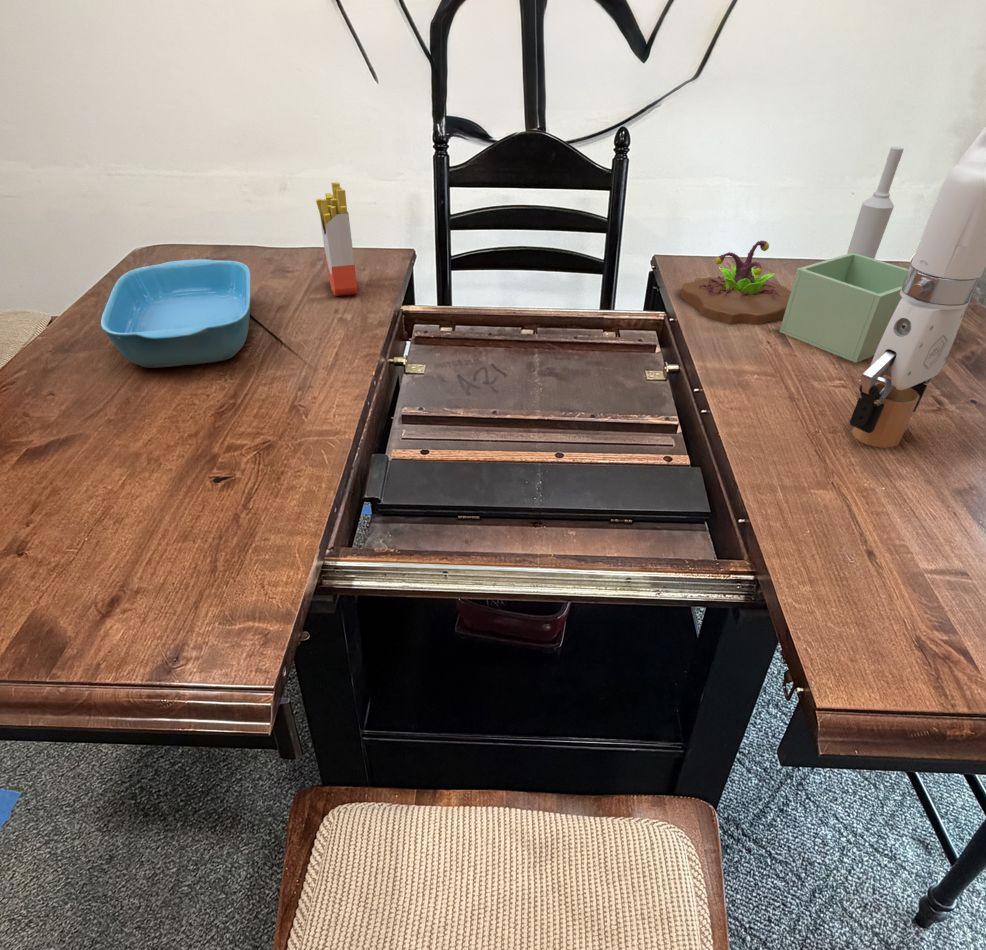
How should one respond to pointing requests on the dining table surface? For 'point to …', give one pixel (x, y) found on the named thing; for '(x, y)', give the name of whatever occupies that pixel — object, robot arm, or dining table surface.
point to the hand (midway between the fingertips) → (882, 418)
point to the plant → (738, 293)
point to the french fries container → (338, 241)
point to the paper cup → (890, 418)
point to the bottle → (875, 211)
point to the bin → (844, 304)
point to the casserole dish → (180, 312)
